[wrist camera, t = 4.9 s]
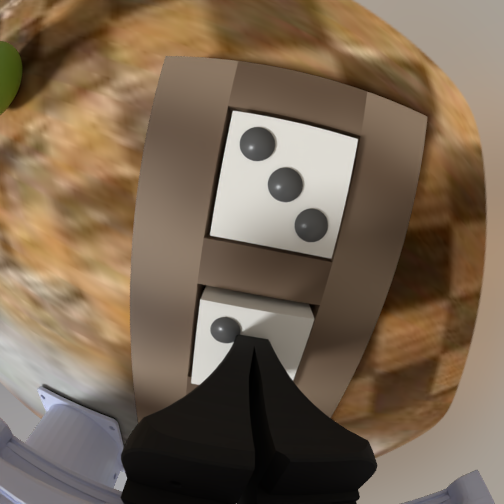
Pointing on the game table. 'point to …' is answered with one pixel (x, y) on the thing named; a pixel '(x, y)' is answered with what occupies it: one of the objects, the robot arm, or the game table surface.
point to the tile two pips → (248, 328)
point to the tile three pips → (283, 184)
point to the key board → (253, 255)
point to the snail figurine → (9, 74)
